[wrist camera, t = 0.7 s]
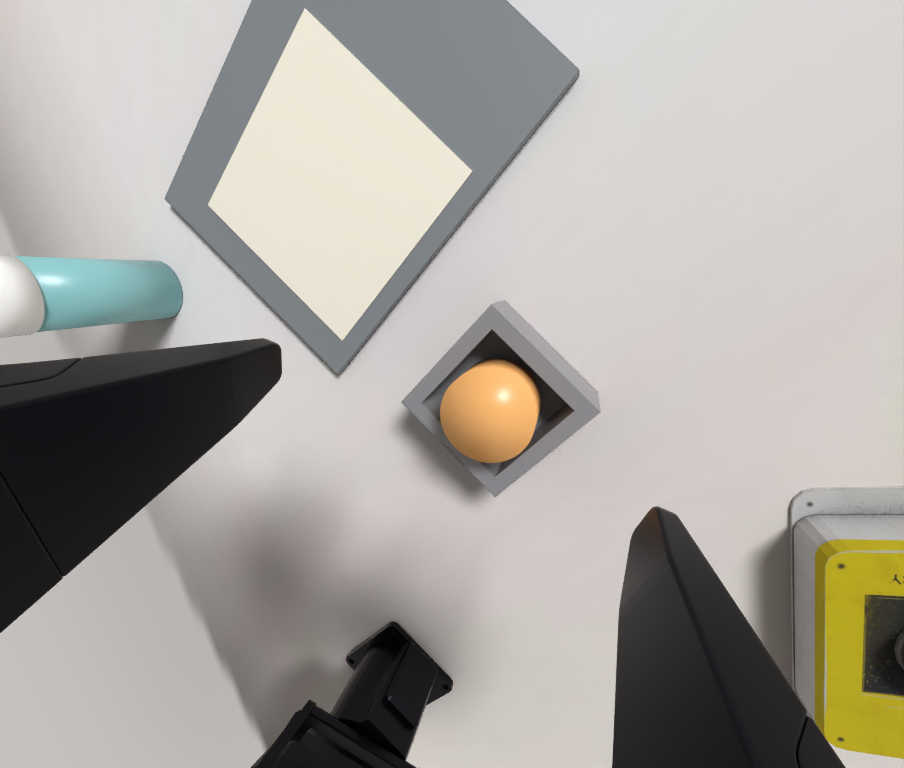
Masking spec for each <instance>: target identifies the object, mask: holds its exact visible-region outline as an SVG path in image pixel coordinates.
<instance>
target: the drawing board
mask: <svg viewBox="0 0 904 768" xmlns="http://www.w3.org/2000/svg"><path fill="white" fill-rule="evenodd" d="M578 77H579V69H578V68H577V67H576V66H575V65H574V64H573V63H572V62H571V61H570V60H569V59H568V58H567V57H566V56H565V55H563V54H562V53H561V52H560V51H559V50H558V49H557V48H556V47H555V46H554V45H553V44H552V43H551V42H550V41H549V40H548V39H547V38H546V37H545V36H543V35H542V34H541V33H540V32H539V31H538V30H537V29H536V28H535V27H534V26H533V25H532V24H531V23H530V22H529V21H528V20H527V19H526V18H525V17H523V16H522V15H521V14H520V13H519V12H518V11H517V10H516V9H515V8H514V7H513V6H512V5H511V4H510V3H509V2H508V1H507V0H252V1H251V3H250V6H249V8H248V10H247V12H246V15H245V17H244V19H243V22H242V24H241V26H240V28H239V31H238V33H237V35H236V37H235V40H234V42H233V44H232V47H231V49H230V51H229V53H228V56H227V58H226V60H225V62H224V65H223V67H222V69H221V72H220V74H219V76H218V78H217V81H216V83H215V85H214V87H213V90H212V92H211V94H210V97H209V99H208V101H207V103H206V106H205V108H204V110H203V112H202V115H201V117H200V119H199V122H198V124H197V126H196V128H195V131H194V133H193V135H192V137H191V140H190V142H189V144H188V147H187V149H186V151H185V153H184V156H183V158H182V160H181V162H180V165H179V167H178V169H177V172H176V174H175V176H174V178H173V181H172V183H171V185H170V187H169V190H168V192H167V194H166V197H165V200H166V201H167V202H168V203H169V204H170V205H171V206H172V207H173V208H174V209H175V210H176V211H177V212H178V213H179V214H180V215H181V216H182V217H183V218H184V219H185V220H186V221H187V222H188V223H189V224H190V225H191V226H192V227H193V228H194V229H195V230H196V231H197V232H198V234H199V235H200V236H201V237H202V238H203V239H204V240H205V241H206V242H207V243H208V244H209V245H210V246H211V247H212V248H213V249H214V250H215V251H216V252H217V253H218V254H219V255H220V256H221V257H222V258H223V259H224V260H225V261H226V262H227V263H228V264H229V265H230V266H231V267H232V268H233V269H234V270H235V271H236V272H237V273H238V274H239V275H240V276H241V277H242V278H243V279H244V280H245V281H246V282H247V283H248V284H249V285H250V286H251V287H252V288H253V289H254V290H255V291H256V292H257V293H258V294H259V295H260V296H261V297H262V298H263V299H264V300H265V301H266V302H267V303H268V304H269V306H270V307H271V308H272V309H273V310H274V311H275V312H276V313H277V314H278V315H279V316H280V317H281V318H282V319H283V320H284V321H285V322H286V323H287V324H288V325H289V326H290V327H291V328H292V329H293V330H294V331H295V332H296V333H297V334H298V335H299V336H300V337H301V338H302V339H303V340H304V341H305V342H306V343H307V344H308V345H309V346H310V347H311V348H312V349H313V350H314V351H315V352H316V353H317V354H318V355H319V356H320V357H321V358H322V359H323V360H324V361H325V362H326V363H327V364H328V365H329V366H330V367H331V368H332V369H333V370H334V371H335V372H336V373H337V374H338V373H341V372H343V370H344V369H345V368H346V367H347V365H348V364H349V363H350V362H351V360H352V359H353V358H354V357H355V355H356V354H357V353H358V352H359V350H360V349H361V348H362V347H363V345H364V344H365V343H366V342H367V340H368V339H369V338H370V337H371V335H372V334H373V333H374V332H375V330H376V329H377V328H378V327H379V325H380V324H381V323H382V322H383V320H384V319H385V318H386V317H387V315H388V314H389V313H390V312H391V310H392V309H393V308H394V307H395V305H396V304H397V303H398V302H399V300H400V299H401V298H402V297H403V295H404V294H405V293H406V292H407V290H408V289H409V288H410V287H411V285H412V284H413V283H414V282H415V280H416V279H417V278H418V277H419V275H420V274H421V273H422V272H423V270H424V269H425V268H426V267H427V265H428V264H429V263H430V262H431V260H432V259H433V258H434V257H435V255H436V254H437V253H438V252H439V250H440V249H441V248H442V247H443V245H444V244H445V243H446V242H447V240H448V239H449V238H450V237H451V235H452V234H453V233H454V232H455V230H456V229H457V228H458V227H459V225H460V224H461V223H462V222H463V220H464V219H465V218H466V217H467V216H468V214H469V213H470V212H471V211H472V209H473V208H474V207H475V206H476V204H477V203H478V202H479V201H480V199H481V198H482V197H483V196H484V194H485V193H486V192H487V191H488V189H489V188H490V187H491V186H492V184H493V183H494V182H495V181H496V179H497V178H498V177H499V176H500V174H501V173H502V172H503V171H504V169H505V168H506V167H507V166H508V164H509V163H510V162H511V161H512V159H513V158H514V157H515V156H516V154H517V153H518V152H519V151H520V149H521V148H522V147H523V146H524V144H525V143H526V142H527V141H528V139H529V138H530V137H531V136H532V134H533V133H534V132H535V131H536V129H537V128H538V127H539V126H540V124H541V123H542V122H543V121H544V119H545V118H546V117H547V116H548V114H549V113H550V112H551V111H552V109H553V108H554V107H555V106H556V104H557V103H558V102H559V101H560V99H561V98H562V97H563V96H564V94H565V93H566V92H567V91H568V89H569V88H570V87H571V86H572V84H573V83H574V82H575V81H576V79H577V78H578Z"/></svg>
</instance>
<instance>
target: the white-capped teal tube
mask: <svg viewBox="0 0 904 768" xmlns="http://www.w3.org/2000/svg"><path fill="white" fill-rule="evenodd" d="M182 301H183V292H182V287H181V284H180V281H179V279H178V277H177V275H176V274H175V272H174V271H173V270H172V269H171V268H170V267H169V266H168V265H166V264H165V263H163V262H160V261H142V260H112V259H82V258H52V257H22V256H12V255H9V254H0V338H2V337H12V336H21V335H30V334H34V333H36V332H41V331H51V330H60V329H70V328H79V327H89V326H98V325H108V324H117V323H127V322H137V321H146V320H156V319H165V318H171V317H174V316H175V315H176V314H177V313H178V312H179V310H180V308H181V306H182Z"/></svg>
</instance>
